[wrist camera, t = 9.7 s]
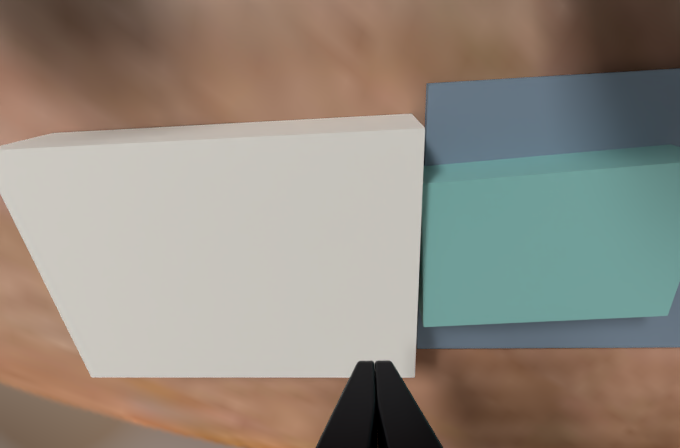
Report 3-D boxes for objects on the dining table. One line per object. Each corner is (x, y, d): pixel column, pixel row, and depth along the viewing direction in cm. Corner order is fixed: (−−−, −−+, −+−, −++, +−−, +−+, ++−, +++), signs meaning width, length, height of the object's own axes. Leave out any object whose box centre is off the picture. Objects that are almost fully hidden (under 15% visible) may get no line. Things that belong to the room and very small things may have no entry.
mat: (917, 53, 11) (935, 53, 11) (754, 340, 16) (762, 346, 16) (426, 83, 12) (428, 84, 12) (416, 342, 17) (417, 348, 17)
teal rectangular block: (670, 144, 12) (723, 158, 11) (630, 284, 15) (667, 315, 13) (413, 166, 13) (421, 184, 12) (416, 296, 16) (423, 327, 14)
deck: (411, 113, 13) (424, 128, 10) (406, 327, 17) (414, 377, 14) (53, 132, 14) (-21, 150, 11) (131, 329, 18) (91, 377, 15)
